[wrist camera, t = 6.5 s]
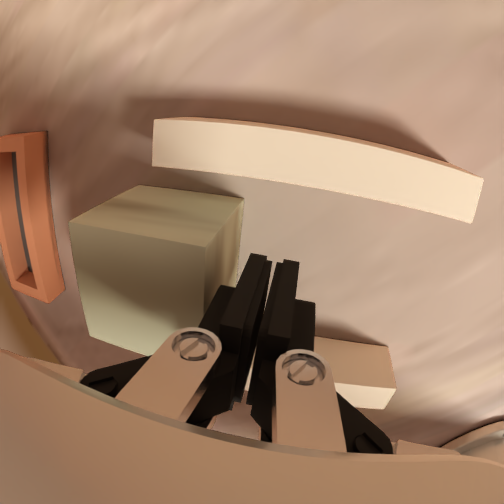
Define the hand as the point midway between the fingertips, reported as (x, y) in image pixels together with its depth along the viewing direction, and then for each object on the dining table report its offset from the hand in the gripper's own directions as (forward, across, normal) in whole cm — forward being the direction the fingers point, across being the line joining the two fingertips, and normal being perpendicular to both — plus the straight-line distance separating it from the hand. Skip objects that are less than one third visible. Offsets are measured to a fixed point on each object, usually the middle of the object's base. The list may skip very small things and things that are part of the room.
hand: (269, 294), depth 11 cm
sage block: (+3, +4, 0) cm, 5 cm away
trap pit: (+3, +15, 0) cm, 15 cm away
